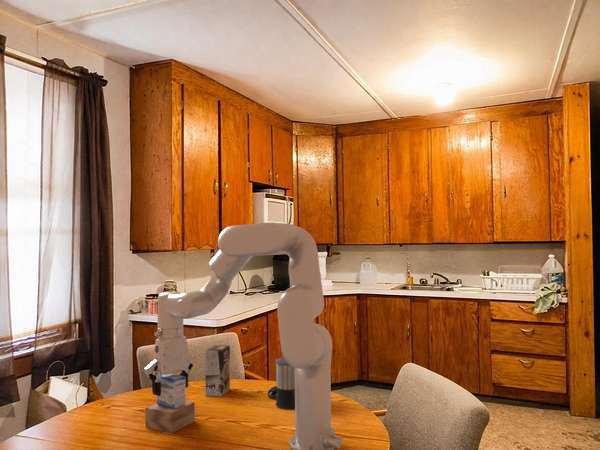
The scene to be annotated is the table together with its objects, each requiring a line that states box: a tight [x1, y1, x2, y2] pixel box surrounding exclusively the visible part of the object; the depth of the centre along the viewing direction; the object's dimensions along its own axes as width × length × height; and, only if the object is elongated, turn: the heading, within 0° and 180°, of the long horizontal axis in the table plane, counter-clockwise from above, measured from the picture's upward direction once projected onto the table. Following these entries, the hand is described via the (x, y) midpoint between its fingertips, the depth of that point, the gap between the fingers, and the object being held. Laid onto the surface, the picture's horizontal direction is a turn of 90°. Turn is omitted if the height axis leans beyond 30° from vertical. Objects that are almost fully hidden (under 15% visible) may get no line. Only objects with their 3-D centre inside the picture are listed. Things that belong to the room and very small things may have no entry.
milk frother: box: [267, 356, 295, 410], centre depth 160 cm, size 14×16×15 cm
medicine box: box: [156, 373, 187, 409], centre depth 141 cm, size 8×4×9 cm, turn 58°
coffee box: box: [204, 344, 231, 397], centre depth 171 cm, size 9×6×16 cm
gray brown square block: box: [145, 400, 196, 434], centre depth 141 cm, size 10×10×6 cm
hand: (170, 390), depth 141 cm, fingers open, 9 cm apart
